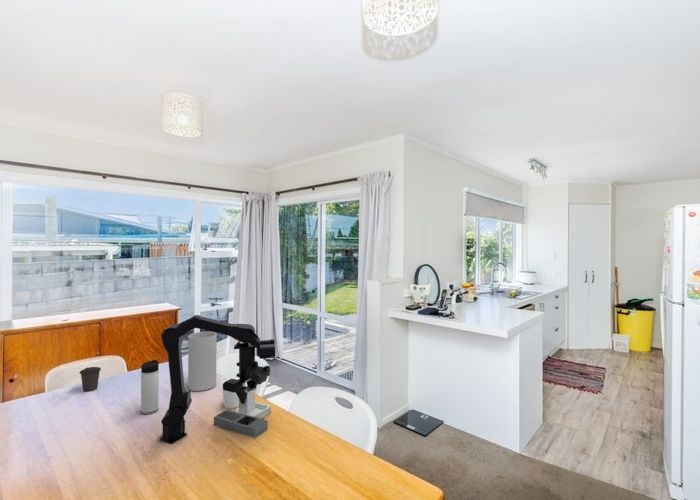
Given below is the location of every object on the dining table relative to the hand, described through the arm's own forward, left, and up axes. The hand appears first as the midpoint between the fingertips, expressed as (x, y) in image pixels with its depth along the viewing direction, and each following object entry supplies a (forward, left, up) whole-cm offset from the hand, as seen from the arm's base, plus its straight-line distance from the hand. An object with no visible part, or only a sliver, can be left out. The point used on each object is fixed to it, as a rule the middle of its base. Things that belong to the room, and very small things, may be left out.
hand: (247, 401), depth 128 cm
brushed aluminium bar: (0, 0, -4) cm, 4 cm away
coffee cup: (-6, +90, -10) cm, 91 cm away
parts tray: (+9, +5, -10) cm, 14 cm away
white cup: (+12, +19, -10) cm, 25 cm away
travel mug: (-7, +45, -10) cm, 47 cm away
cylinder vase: (+20, +46, -10) cm, 51 cm away
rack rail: (0, +3, -10) cm, 11 cm away
